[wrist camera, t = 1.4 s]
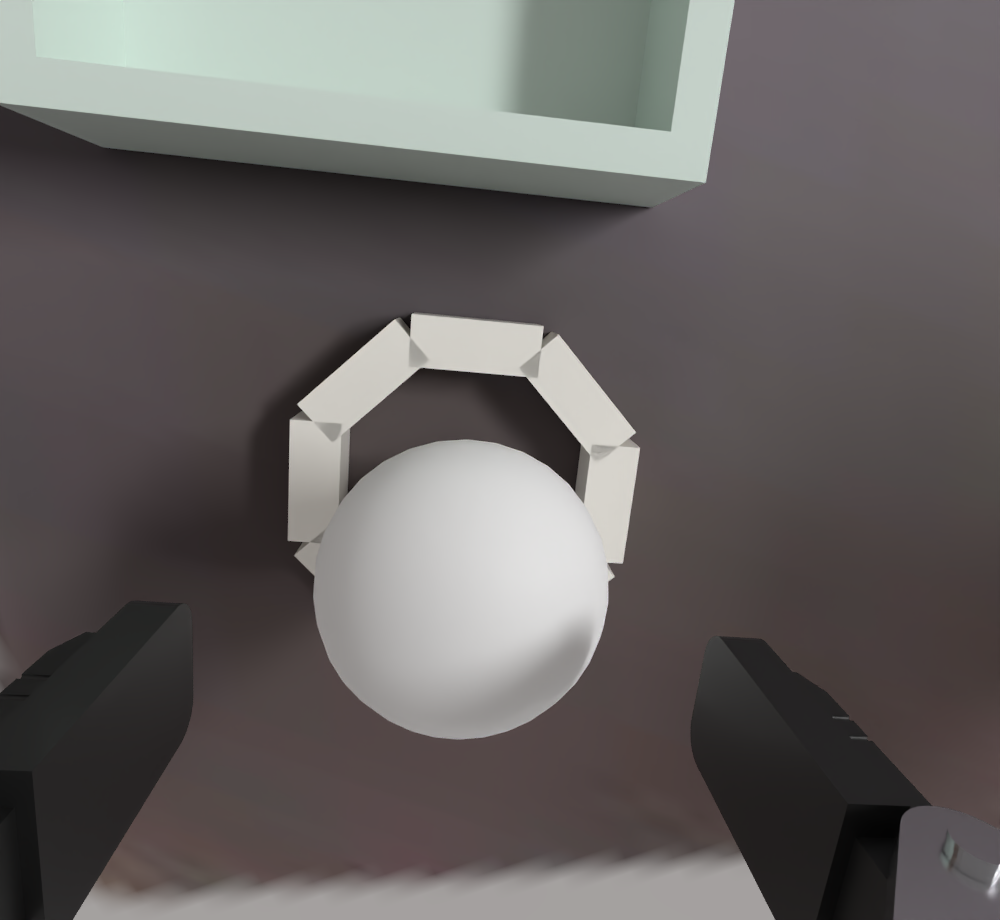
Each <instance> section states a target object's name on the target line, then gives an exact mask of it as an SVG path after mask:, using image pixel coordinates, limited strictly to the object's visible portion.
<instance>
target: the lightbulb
mask: <svg viewBox="0 0 1000 920" xmlns="http://www.w3.org/2000/svg"><path fill="white" fill-rule="evenodd" d="M313 600H314V607H315V615H316V622H317V626H318V629H319V632H320V635H321V638H322V641H323V644H324V646H325V649H326V652H327V655H328V657H329V660H330V662H331V663H332V665H333V667H334V668H335V670H336V671H337V673H338V675H339V676H340V678H341V679H342V681H343V682H344V684H345V685H346V686H347V687H348V688H349V689H350V690H351V691H352V692H353V693H354V694H355V695H356V696H357V697H358V698H359V699H360V700H361V701H362V702H363V703H364V704H366V705H367V706H369V707H370V708H371V709H373V710H374V711H376V712H377V713H378V714H380V715H381V716H383V717H384V718H385V719H387V720H388V721H390V722H392V723H395V724H397V725H399V726H401V727H403V728H405V729H407V730H410V731H413V732H416V733H420V734H424V735H428V736H431V737H437V738H448V739H470V738H483V737H487V736H491V735H495V734H499V733H503V732H507V731H509V730H511V729H514V728H516V727H518V726H520V725H523V724H525V723H527V722H529V721H531V720H532V719H534V718H535V717H537V716H538V715H540V714H541V713H543V712H544V711H546V710H547V709H548V708H550V707H551V706H553V705H554V704H555V703H556V702H558V701H559V700H560V699H561V698H562V697H563V696H564V695H565V694H566V693H567V692H568V691H569V690H570V689H571V688H572V687H573V686H574V685H575V684H576V682H577V681H578V679H579V678H580V676H581V675H582V673H583V672H584V670H585V669H586V667H587V666H588V664H589V663H590V661H591V658H592V656H593V654H594V651H595V649H596V646H597V644H598V642H599V639H600V636H601V633H602V630H603V627H604V622H605V617H606V611H607V606H608V568H607V561H606V556H605V552H604V548H603V543H602V539H601V537H600V534H599V532H598V530H597V528H596V526H595V524H594V522H593V520H592V517H591V515H590V513H589V512H588V510H587V508H586V506H585V505H584V504H583V502H582V501H581V500H580V498H579V497H578V496H577V494H576V493H575V492H574V490H573V489H572V488H571V486H570V485H569V484H568V483H567V482H566V481H565V480H563V479H562V478H561V477H560V476H559V475H558V474H557V473H555V472H554V471H553V470H552V469H551V468H550V467H549V466H547V465H545V464H544V463H542V462H540V461H538V460H536V459H535V458H533V457H531V456H529V455H528V454H526V453H524V452H522V451H519V450H516V449H513V448H510V447H506V446H503V445H500V444H497V443H492V442H484V441H476V440H468V439H466V440H450V441H437V442H434V443H430V444H426V445H422V446H418V447H415V448H411V449H408V450H406V451H404V452H402V453H400V454H398V455H396V456H394V457H392V458H390V459H388V460H386V461H384V462H382V463H381V464H380V465H378V466H377V467H376V468H374V469H373V470H372V471H370V472H369V473H368V474H366V475H365V476H364V477H363V478H361V479H360V480H359V482H358V483H357V484H356V485H355V486H354V487H353V488H352V490H351V491H350V492H349V493H348V494H347V495H346V496H345V498H344V499H343V500H342V502H341V503H340V505H339V507H338V508H337V510H336V512H335V514H334V516H333V517H332V519H331V521H330V523H329V525H328V526H327V528H326V530H325V532H324V534H323V538H322V541H321V544H320V548H319V551H318V554H317V557H316V566H315V578H314V593H313Z"/></svg>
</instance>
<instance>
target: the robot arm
mask: <svg viewBox="0 0 1000 920" xmlns="http://www.w3.org/2000/svg"><path fill="white" fill-rule="evenodd" d="M192 706H193V649H192V616H191V611H190V608H189V606H188V605H187V604H182V603H165V602H149V601H131V602H129V603H128V604H126V605H125V606H124V607H123V608H122V609H121V610H120V611H119V612H118V613H117V614H116V615H115V616H114V617H113V618H112V619H110V620H109V621H108V622H107V623H106V624H105V625H104V626H103V627H102V628H101V629H100V630H99V631H98V632H97V633H90V632H85V633H83V634H81V635H79V636H77V637H75V638H73V639H71V640H69V641H67V642H65V643H63V644H61V645H59V646H57V647H55V648H53V649H51V650H49V651H48V652H47V653H45V654H44V655H43V656H42V657H41V658H40V659H39V660H37V661H36V662H35V663H34V664H33V665H32V666H31V667H29V668H28V669H27V670H26V671H25V672H24V673H23V674H22V677H21V679H16V680H15V681H13V682H12V683H11V684H10V685H9V686H8V687H7V688H5V689H4V690H3V691H2V692H1V693H0V920H73V918H74V917H75V915H76V913H77V912H78V910H79V909H80V907H81V905H82V904H83V902H84V900H85V899H86V897H87V895H88V894H89V892H90V891H91V889H92V887H93V886H94V884H95V882H96V881H97V879H98V878H99V876H100V874H101V873H102V871H103V869H104V868H105V866H106V864H107V863H108V861H109V860H110V858H111V856H112V855H113V853H114V851H115V850H116V848H117V847H118V845H119V843H120V842H121V840H122V838H123V837H124V835H125V833H126V832H127V830H128V829H129V827H130V825H131V824H132V822H133V820H134V819H135V817H136V816H137V814H138V812H139V811H140V809H141V807H142V806H143V804H144V802H145V801H146V799H147V798H148V796H149V794H150V793H151V791H152V789H153V788H154V786H155V785H156V783H157V781H158V780H159V778H160V776H161V775H162V773H163V771H164V770H165V768H166V767H167V765H168V763H169V762H170V760H171V758H172V757H173V755H174V754H175V752H176V750H177V749H178V747H179V745H180V744H181V742H182V740H183V738H184V736H185V733H186V731H187V728H188V725H189V721H190V717H191V712H192ZM691 746H692V752H693V756H694V759H695V762H696V764H697V767H698V769H699V771H700V773H701V775H702V777H703V779H704V780H705V782H706V784H707V786H708V788H709V790H710V792H711V794H712V796H713V798H714V800H715V802H716V804H717V806H718V808H719V810H720V812H721V814H722V816H723V818H724V820H725V822H726V824H727V826H728V828H729V830H730V832H731V834H732V836H733V838H734V839H735V841H736V843H737V845H738V847H739V849H740V851H741V853H742V855H743V857H744V859H745V861H746V863H747V865H748V867H749V869H750V871H751V873H752V875H753V877H754V879H755V881H756V883H757V885H758V887H759V889H760V891H761V893H762V894H763V897H764V898H765V900H766V902H767V904H768V906H769V908H770V910H771V912H772V914H773V916H774V918H775V920H1000V830H999V829H997V828H995V827H993V826H991V825H990V824H988V823H986V822H984V821H982V820H979V819H977V818H975V817H973V816H970V815H967V814H965V813H962V812H959V811H956V810H952V809H948V808H943V807H938V806H932V805H931V804H930V803H929V802H928V801H927V800H926V799H925V798H924V797H923V796H922V794H921V793H920V792H919V791H918V790H917V789H916V788H915V787H914V786H913V785H912V784H911V783H910V781H909V780H908V779H907V778H906V777H905V776H904V775H903V774H902V773H901V772H900V771H899V770H898V769H897V767H896V766H895V765H894V764H893V763H892V762H891V761H890V760H889V759H888V758H887V757H886V756H885V755H884V753H883V752H882V751H881V750H880V749H879V748H878V747H877V746H876V745H875V744H874V743H873V742H872V741H868V740H867V735H866V734H865V733H864V732H863V731H862V730H861V729H860V728H859V726H858V725H857V724H856V723H855V722H854V721H849V716H848V715H847V714H846V712H845V711H844V710H843V709H842V708H841V707H840V706H839V705H838V704H837V703H836V702H835V701H834V700H833V698H832V697H831V696H830V695H829V694H828V693H827V692H825V691H824V690H822V689H821V688H819V687H818V686H816V685H815V684H813V683H812V682H810V681H809V680H807V679H806V678H804V677H803V676H801V675H800V674H798V673H796V672H792V671H791V670H790V669H789V668H788V667H787V666H786V664H785V663H784V662H783V661H782V660H781V659H780V658H779V657H778V655H777V654H776V653H775V652H774V651H773V650H772V649H771V648H770V646H769V645H768V644H767V643H766V642H765V641H764V640H762V639H756V638H739V637H722V636H714V637H712V638H711V639H710V640H709V642H708V644H707V646H706V649H705V654H704V659H703V664H702V669H701V674H700V679H699V684H698V689H697V695H696V700H695V705H694V710H693V715H692V721H691Z"/></svg>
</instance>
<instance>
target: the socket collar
mask: <svg viewBox="0 0 1000 920" xmlns="http://www.w3.org/2000/svg"><path fill="white" fill-rule="evenodd" d="M543 327H544V326H542V325H539V324H533V323H522V322H512V321H501V320H491V319H480V318H470V317H459V316H448V315H438V314H427V313H417V312H415V313H413V314H412V315H411V330H410V329H409V327H408V326H407V325H406V324H405V323H404V321H403V320H402V319H401V318H397V319H394V320H393V321H392V322H391V323H390V324H389V325H388V326H386V327H385V328H384V329H383V330H382V331H381V332H380V333H378V334H377V335H376V336H375V337H374V338H373V339H371V340H370V341H369V342H368V343H367V344H366V345H365V346H363V347H362V348H361V349H360V350H359V351H358V352H357V353H355V354H354V355H353V356H352V357H351V358H350V359H349V360H347V361H346V362H345V363H344V364H343V365H342V366H340V367H339V368H338V369H337V370H336V371H335V372H334V373H332V374H331V375H330V376H329V377H328V378H327V379H326V380H324V381H323V382H322V383H321V384H320V385H319V386H317V387H316V388H315V389H314V390H313V391H312V392H311V393H309V394H308V395H307V396H306V397H305V398H304V399H303V400H301V401H300V402H299V403H298V404H297V405H298V406H299V407H300V408H301V409H302V410H303V411H301V412H300V413H298V414H297V415H295V416H294V417H293V418H291V419H290V440H289V499H288V541H297V542H303V543H302V544H301V546H300V547H299V549H298V550H297V552H296V553H295V555H294V556H295V557H296V558H297V559H298V560H299V561H300V562H301V563H302V564H303V565H304V566H305V567H306V568H307V569H308V570H309V571H310V572H311V573H312V574H313V575H314V576H315V566H316V557H317V554H318V551H319V548H320V544H321V541H322V538H323V534H324V532H325V530H326V528H327V526H328V525H329V523H330V521H331V519H332V517H333V516H334V514H335V512H336V510H337V508H338V507H339V505H340V503H341V502H342V500H343V499H344V498H345V496H346V495H347V494H348V472H349V447H350V427H352V426H353V425H354V424H355V423H356V422H357V421H359V420H360V419H361V418H362V417H363V416H364V415H366V414H367V413H368V412H369V411H370V410H371V409H373V408H374V407H375V406H376V405H377V404H378V403H380V402H381V401H382V400H383V399H384V398H386V397H387V396H388V395H389V394H390V393H391V392H393V391H394V390H395V389H396V388H397V387H398V386H400V385H401V384H402V383H403V382H404V381H405V380H407V379H408V378H409V377H410V376H411V375H412V374H414V373H415V372H416V371H417V370H418V369H419V368H431V369H442V370H453V371H464V372H476V373H487V374H498V375H510V376H521V377H527V379H528V380H529V381H530V382H531V383H532V385H533V386H534V387H535V388H536V390H537V391H538V392H539V393H540V394H541V396H542V397H543V398H544V399H545V401H546V402H547V403H548V404H549V405H550V407H551V408H552V409H553V410H554V412H555V413H556V414H557V415H558V416H559V418H560V419H561V420H562V421H563V423H564V424H565V425H566V426H567V427H568V429H569V430H570V431H571V432H572V434H573V435H574V436H575V437H576V438H577V440H578V441H579V442H580V443H581V449H580V457H579V464H578V472H577V480H576V488H575V493H576V494H577V496H578V497H579V498H580V500H581V501H582V502H583V504H584V505H585V506H586V508H587V510H588V512H589V513H590V515H591V517H592V520H593V522H594V524H595V526H596V528H597V530H598V532H599V534H600V537H601V539H602V543H603V548H604V552H605V556H606V561H607V568H608V581H610V580H611V579H612V578H614V577H615V576H614V574H613V572H612V571H611V569H610V567H609V565H608V563H622V564H623V559H624V552H625V545H626V539H627V532H628V525H629V519H630V512H631V505H632V499H633V492H634V485H635V479H636V472H637V465H638V459H639V452H640V448H639V447H638V446H637V445H636V444H635V443H634V442H633V441H631V440H630V439H629V438H630V437H631V436H632V435H634V434H635V433H636V432H635V431H634V429H633V428H632V427H631V426H630V424H629V423H628V422H627V421H626V419H625V418H624V417H623V415H622V414H621V413H620V412H619V410H618V409H617V408H616V407H615V405H614V404H613V403H612V402H611V400H610V399H609V398H608V396H607V395H606V394H605V393H604V391H603V390H602V389H601V388H600V386H599V385H598V384H597V383H596V381H595V380H594V379H593V377H592V376H591V375H590V374H589V372H588V371H587V370H586V369H585V367H584V366H583V365H582V364H581V362H580V361H579V360H578V358H577V357H576V356H575V355H574V353H573V352H572V351H571V350H570V348H569V347H568V346H567V344H566V343H565V342H564V341H563V339H562V338H561V337H560V336H559V335H558V334H556V333H554V332H551V333H549V334H548V335H547V336H546V337H545V338H543V339H542V336H543Z"/></svg>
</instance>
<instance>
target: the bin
mask: <svg viewBox="0 0 1000 920" xmlns="http://www.w3.org/2000/svg"><path fill="white" fill-rule="evenodd" d="M734 1H735V0H0V106H3V107H5V108H8V109H10V110H13V111H15V112H17V113H20V114H22V115H25V116H27V117H30V118H32V119H35V120H37V121H39V122H42V123H44V124H47V125H49V126H52V127H54V128H57V129H59V130H61V131H64V132H66V133H69V134H71V135H74V136H76V137H79V138H81V139H83V140H86V141H88V142H91V143H93V144H96V145H98V146H101V147H104V148H113V149H122V150H131V151H140V152H149V153H158V154H167V155H177V156H186V157H195V158H204V159H213V160H222V161H231V162H241V163H250V164H259V165H268V166H277V167H286V168H295V169H304V170H314V171H323V172H332V173H341V174H350V175H359V176H368V177H377V178H387V179H396V180H405V181H414V182H423V183H432V184H441V185H450V186H460V187H469V188H478V189H487V190H496V191H505V192H514V193H524V194H533V195H542V196H551V197H560V198H569V199H578V200H587V201H597V202H606V203H615V204H624V205H633V206H642V207H651V208H653V207H655V206H657V205H659V204H661V203H663V202H665V201H668V200H670V199H672V198H674V197H676V196H678V195H680V194H682V193H685V192H687V191H689V190H691V189H693V188H695V187H697V186H700V185H702V184H704V183H706V177H707V171H708V165H709V158H710V152H711V146H712V139H713V133H714V127H715V121H716V114H717V108H718V102H719V95H720V89H721V83H722V76H723V70H724V64H725V58H726V51H727V45H728V39H729V32H730V26H731V20H732V13H733V7H734Z"/></svg>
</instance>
